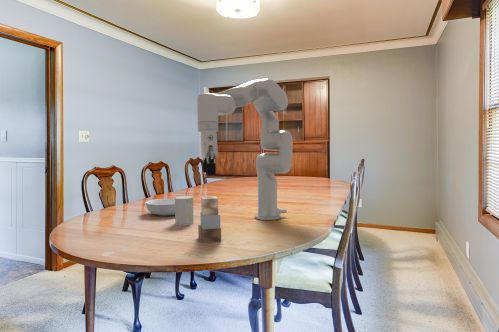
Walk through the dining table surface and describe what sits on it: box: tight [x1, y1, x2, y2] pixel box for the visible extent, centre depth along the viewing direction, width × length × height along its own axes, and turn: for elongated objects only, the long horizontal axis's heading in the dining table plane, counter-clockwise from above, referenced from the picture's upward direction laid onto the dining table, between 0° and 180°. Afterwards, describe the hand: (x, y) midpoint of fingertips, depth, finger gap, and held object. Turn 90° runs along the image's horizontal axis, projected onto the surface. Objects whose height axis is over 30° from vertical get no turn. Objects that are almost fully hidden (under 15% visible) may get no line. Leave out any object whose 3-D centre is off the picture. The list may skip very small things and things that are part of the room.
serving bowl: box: [145, 198, 175, 217], centre depth 168 cm, size 21×21×7 cm
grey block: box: [200, 211, 221, 229], centre depth 121 cm, size 6×6×5 cm
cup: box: [174, 195, 195, 227], centre depth 146 cm, size 8×8×12 cm
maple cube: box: [200, 195, 219, 215], centre depth 121 cm, size 6×6×6 cm
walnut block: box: [197, 224, 222, 244], centre depth 121 cm, size 8×8×5 cm
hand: (208, 173), depth 120 cm, fingers open, 9 cm apart
